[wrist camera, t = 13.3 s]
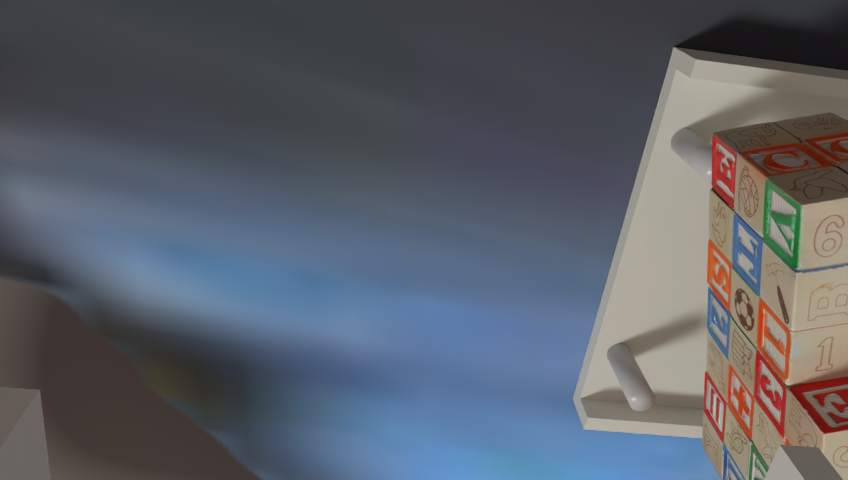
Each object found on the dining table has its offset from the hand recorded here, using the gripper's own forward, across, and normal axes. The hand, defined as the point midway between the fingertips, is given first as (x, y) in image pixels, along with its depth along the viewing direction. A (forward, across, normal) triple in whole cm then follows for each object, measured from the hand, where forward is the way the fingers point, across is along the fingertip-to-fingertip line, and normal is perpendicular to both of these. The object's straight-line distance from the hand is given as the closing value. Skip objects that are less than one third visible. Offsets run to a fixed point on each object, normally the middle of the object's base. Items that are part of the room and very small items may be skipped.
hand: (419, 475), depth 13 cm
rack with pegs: (+31, +22, -9) cm, 39 cm away
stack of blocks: (+25, +22, -9) cm, 34 cm away
